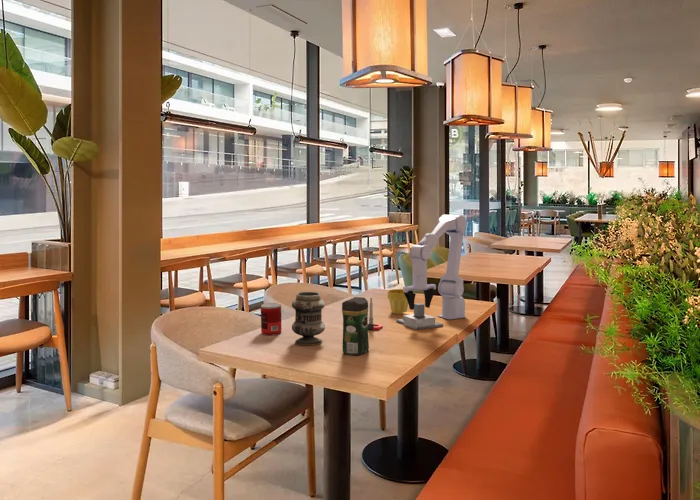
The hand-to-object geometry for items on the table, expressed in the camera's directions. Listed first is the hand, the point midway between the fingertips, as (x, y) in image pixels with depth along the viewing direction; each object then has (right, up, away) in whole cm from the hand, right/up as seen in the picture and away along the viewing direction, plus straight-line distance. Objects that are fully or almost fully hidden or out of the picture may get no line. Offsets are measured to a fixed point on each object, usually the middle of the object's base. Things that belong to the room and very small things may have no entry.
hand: (419, 308), depth 229 cm
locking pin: (0, -6, +1) cm, 6 cm away
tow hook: (-19, -8, -1) cm, 21 cm away
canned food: (-58, -9, -9) cm, 60 cm away
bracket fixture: (0, -7, +4) cm, 8 cm away
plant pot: (-6, -5, +27) cm, 28 cm away
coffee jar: (-26, -11, -35) cm, 45 cm away
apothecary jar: (-43, -10, -23) cm, 50 cm away
